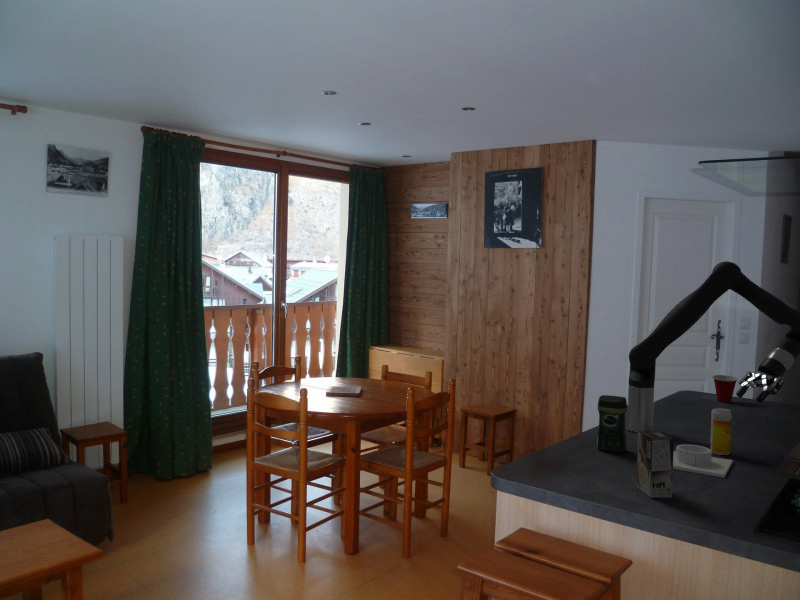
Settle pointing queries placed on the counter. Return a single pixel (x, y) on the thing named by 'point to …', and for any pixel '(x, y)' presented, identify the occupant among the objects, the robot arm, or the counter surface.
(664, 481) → the coffee box
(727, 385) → the plastic cup
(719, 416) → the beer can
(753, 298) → the robot arm
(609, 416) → the coffee jar
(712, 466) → the base
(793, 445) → the counter surface
